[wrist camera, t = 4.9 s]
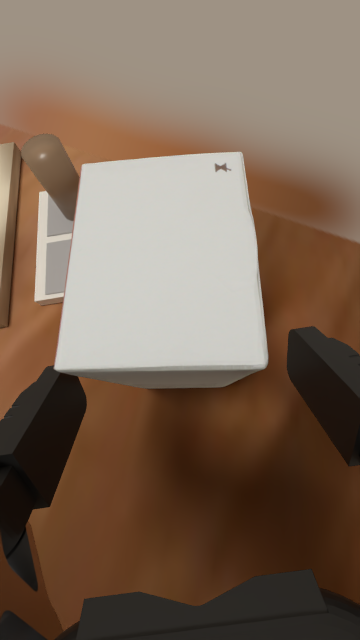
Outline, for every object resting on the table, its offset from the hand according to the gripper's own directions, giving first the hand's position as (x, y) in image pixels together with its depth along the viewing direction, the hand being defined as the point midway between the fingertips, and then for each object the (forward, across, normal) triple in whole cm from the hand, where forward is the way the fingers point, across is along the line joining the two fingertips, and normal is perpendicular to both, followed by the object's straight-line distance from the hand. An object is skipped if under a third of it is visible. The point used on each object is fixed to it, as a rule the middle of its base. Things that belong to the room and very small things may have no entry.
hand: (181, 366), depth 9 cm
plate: (+18, +8, -3) cm, 20 cm away
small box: (+10, 0, +5) cm, 11 cm away
